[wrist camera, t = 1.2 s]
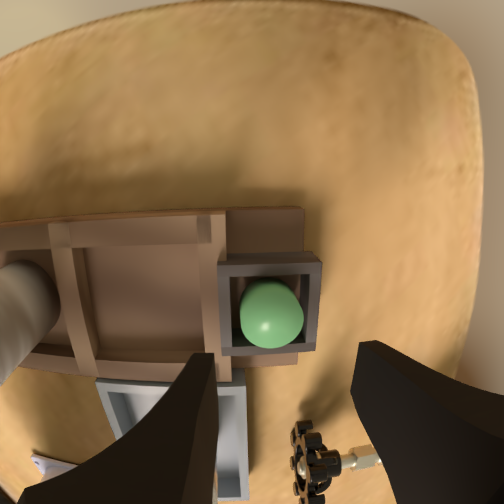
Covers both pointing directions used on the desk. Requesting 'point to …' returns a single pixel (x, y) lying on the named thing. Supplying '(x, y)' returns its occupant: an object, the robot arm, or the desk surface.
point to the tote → (230, 423)
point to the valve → (322, 463)
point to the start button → (270, 313)
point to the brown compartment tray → (148, 290)
